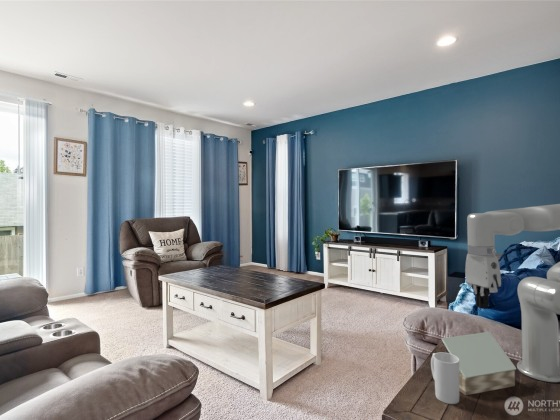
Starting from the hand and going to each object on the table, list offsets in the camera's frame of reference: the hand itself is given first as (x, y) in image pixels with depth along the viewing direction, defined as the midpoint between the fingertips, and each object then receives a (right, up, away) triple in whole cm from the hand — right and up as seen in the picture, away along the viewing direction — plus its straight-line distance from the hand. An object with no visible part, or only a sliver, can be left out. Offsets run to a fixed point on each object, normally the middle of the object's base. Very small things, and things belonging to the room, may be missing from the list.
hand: (482, 306), depth 106 cm
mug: (-17, -24, -9) cm, 31 cm away
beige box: (-3, -23, -2) cm, 24 cm away
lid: (-3, -14, -3) cm, 15 cm away
